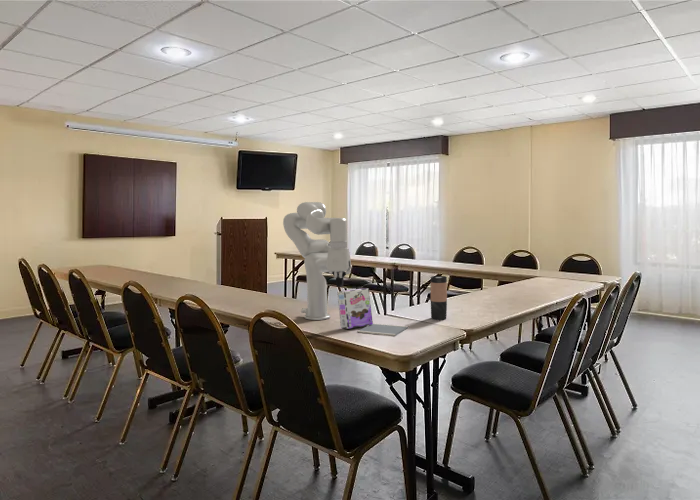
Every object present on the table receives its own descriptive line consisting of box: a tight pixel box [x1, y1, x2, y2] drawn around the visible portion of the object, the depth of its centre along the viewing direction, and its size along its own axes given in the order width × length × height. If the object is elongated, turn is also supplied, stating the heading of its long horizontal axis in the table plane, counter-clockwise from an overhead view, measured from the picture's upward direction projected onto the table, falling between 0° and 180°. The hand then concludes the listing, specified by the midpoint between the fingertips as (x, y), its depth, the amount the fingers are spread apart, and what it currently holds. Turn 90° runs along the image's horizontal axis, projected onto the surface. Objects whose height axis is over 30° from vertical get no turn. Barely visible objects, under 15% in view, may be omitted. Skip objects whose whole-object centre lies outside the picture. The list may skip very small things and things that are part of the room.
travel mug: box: [430, 275, 448, 321], centre depth 237 cm, size 8×8×20 cm
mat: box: [357, 322, 409, 337], centre depth 216 cm, size 17×16×1 cm
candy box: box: [337, 288, 374, 329], centre depth 222 cm, size 14×6×16 cm, turn 125°
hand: (339, 286), depth 223 cm, fingers closed
